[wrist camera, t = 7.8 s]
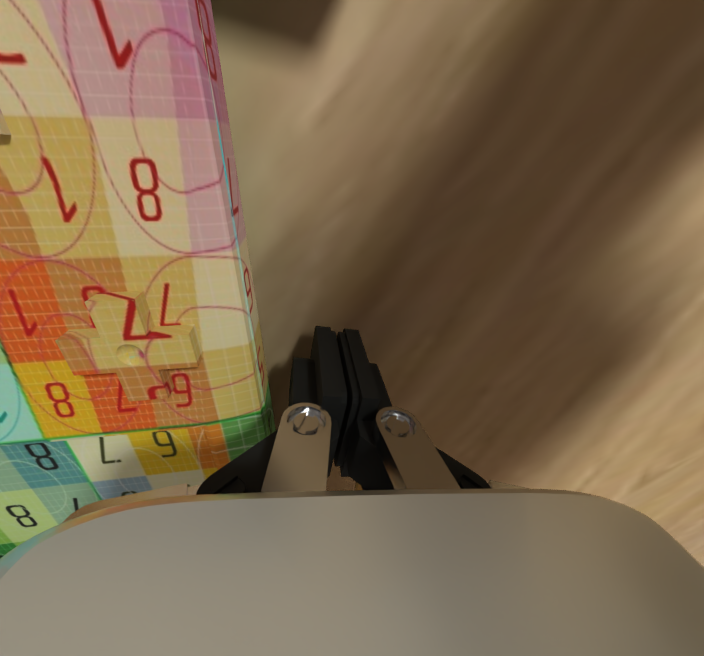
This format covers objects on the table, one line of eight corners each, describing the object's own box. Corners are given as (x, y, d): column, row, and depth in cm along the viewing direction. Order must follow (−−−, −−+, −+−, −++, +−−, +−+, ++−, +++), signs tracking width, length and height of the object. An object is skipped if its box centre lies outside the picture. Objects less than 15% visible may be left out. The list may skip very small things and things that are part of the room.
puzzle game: (163, -113, 4) (290, 588, 14) (230, 18, 8) (292, 489, 18) (-1373, -293, 3) (-9, 638, 12) (-348, -22, 7) (66, 518, 16)
